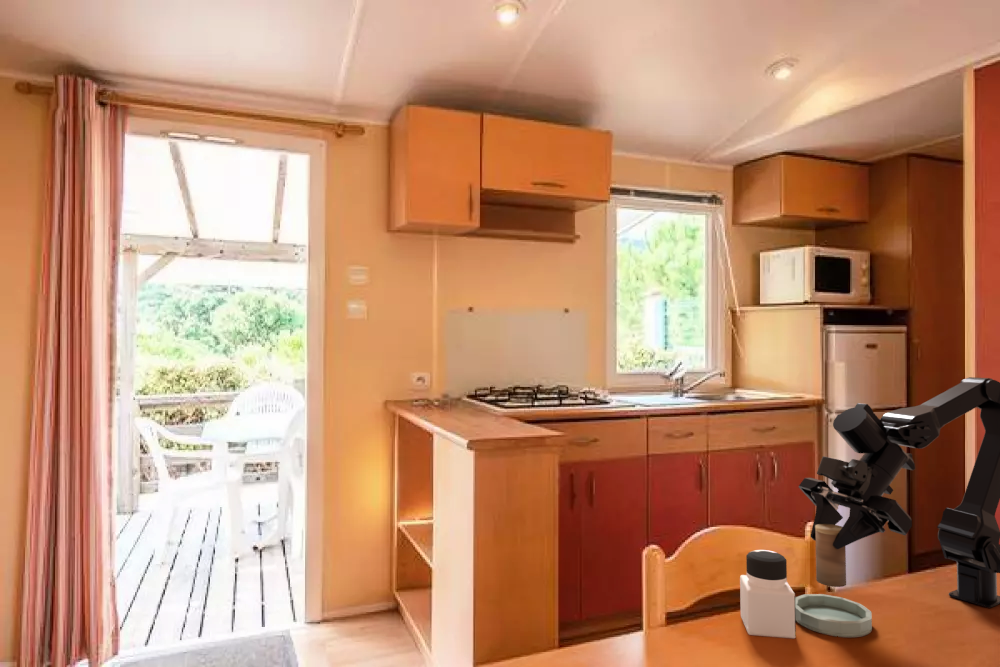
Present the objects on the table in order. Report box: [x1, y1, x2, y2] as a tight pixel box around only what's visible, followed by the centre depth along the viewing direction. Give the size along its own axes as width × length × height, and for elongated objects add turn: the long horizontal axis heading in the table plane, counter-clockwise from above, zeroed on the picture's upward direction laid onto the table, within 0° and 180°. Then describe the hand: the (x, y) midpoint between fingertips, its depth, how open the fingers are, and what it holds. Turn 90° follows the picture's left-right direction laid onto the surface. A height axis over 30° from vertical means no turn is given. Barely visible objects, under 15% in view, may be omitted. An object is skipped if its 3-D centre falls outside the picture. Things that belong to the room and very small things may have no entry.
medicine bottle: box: [739, 549, 797, 639], centre depth 103 cm, size 7×7×12 cm
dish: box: [795, 593, 873, 638], centre depth 105 cm, size 12×12×2 cm
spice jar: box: [815, 524, 847, 588], centre depth 105 cm, size 4×4×9 cm
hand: (823, 542), depth 105 cm, fingers closed on spice jar, 4 cm apart
